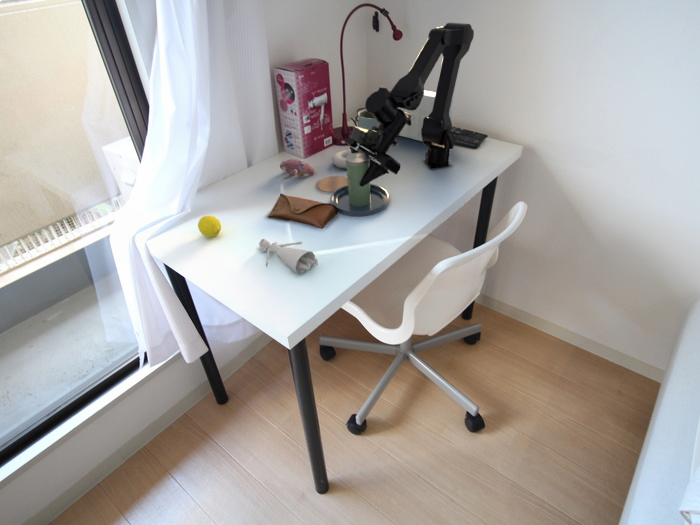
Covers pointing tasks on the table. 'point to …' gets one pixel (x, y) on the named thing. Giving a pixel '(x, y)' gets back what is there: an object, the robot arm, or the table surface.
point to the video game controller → (296, 167)
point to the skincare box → (420, 116)
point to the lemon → (209, 226)
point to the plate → (376, 205)
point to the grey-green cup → (367, 120)
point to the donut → (341, 158)
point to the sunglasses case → (303, 211)
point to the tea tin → (357, 179)
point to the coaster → (332, 183)
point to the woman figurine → (290, 255)
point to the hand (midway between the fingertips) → (354, 181)
